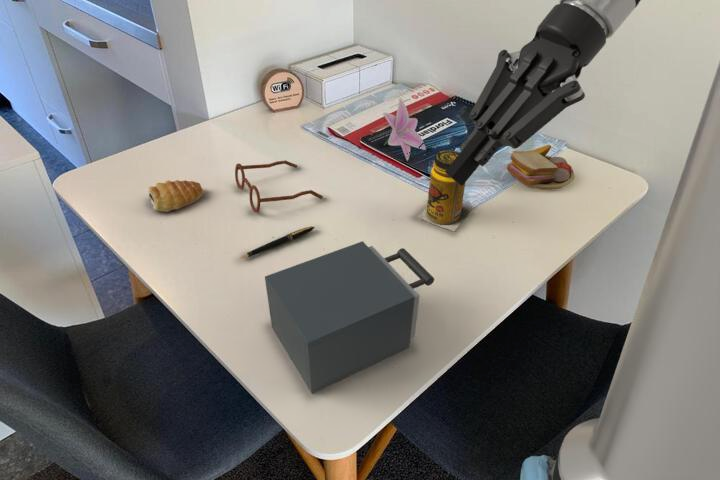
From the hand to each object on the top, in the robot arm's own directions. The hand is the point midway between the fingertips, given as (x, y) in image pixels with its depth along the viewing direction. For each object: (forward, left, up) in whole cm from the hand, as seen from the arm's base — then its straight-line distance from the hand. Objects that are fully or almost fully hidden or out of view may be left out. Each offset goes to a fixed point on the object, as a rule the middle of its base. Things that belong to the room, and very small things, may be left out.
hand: (453, 178), depth 66 cm
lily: (+30, -31, -20) cm, 48 cm away
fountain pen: (+26, +8, -20) cm, 34 cm away
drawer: (+4, +12, -19) cm, 23 cm away
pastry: (+50, +12, -20) cm, 55 cm away
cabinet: (+5, +16, -20) cm, 26 cm away
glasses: (+38, -3, -20) cm, 43 cm away
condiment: (+10, -18, -20) cm, 29 cm away
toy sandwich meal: (+3, -41, -20) cm, 46 cm away
